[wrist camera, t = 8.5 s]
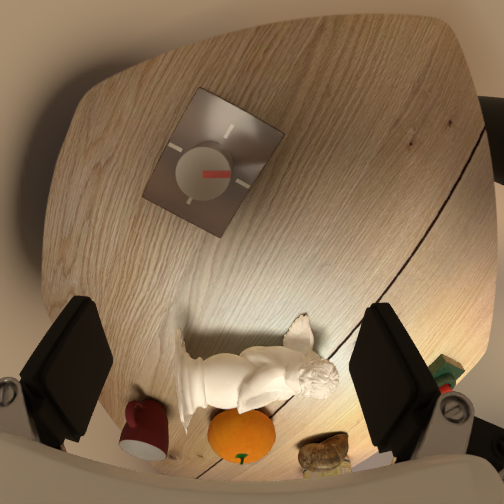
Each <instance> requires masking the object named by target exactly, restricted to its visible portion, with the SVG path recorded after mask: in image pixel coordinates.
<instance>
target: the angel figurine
mask: <svg viewBox="0 0 504 504" xmlns="http://www.w3.org/2000/svg"><path fill="white" fill-rule="evenodd" d="M180 333H181V328H180V329H179V328H177V330H176V338H175V379H176V391H177V401H178V407H179V414H180V420H181V422H182V424H183V426H184V428H185V430H186V433H187V434H188V432H187V428H186V427H187V426H188V424H189V421H190V420H191V416H192V414H194V413H195V409H196V408H197V407H202V408H207V404H209V405H211V406H213V407H216V408H221V409H232V408H236V407H237V409H238V412H239V414H241V413H244V412H246V411H250V410H252V409H257V408H260V407H263V406H266V405H267V404H269V403H271V402H273V401H276V400H279V401H282V400H288V399H289V398H290V397H291V396H292V395H297V394H298V393H300V392H301V391H302V395H303V396H310V397H311V398H320V399H325V398H327V397H329V396H330V395H331V394H332V392H334V391H336V388H337V386H338V383H339V380H338V378H339V374H338V371H337V370H336V366H334V364H333V363H332V362H329V360H325V359H323V360H321V358H320V357H319V355H318V354H316V353H315V352H314V351H312V348H313V346H314V345H313V343H314V335H313V333H312V331H311V328H310V326H309V317H308V315H305V316H303V315H300V316H299V319H298V318H297V319H296V320H295V322H293V323H292V326H291V327H289V331H287V334H285V335H284V339H283V342H284V343H283V346H270V347H262V346H254V347H250V348H247V349H245V350H244V351H242V352H241V353H240V356H238V355H235V354H230V353H221V354H216V355H213V356H211V357H209V358H207V359H206V360H204V361H203V360H202V358H201V357H198V358H197V359H192V358H191V357H190V355H189V353H186V348H185V342H184V340H183V341H182V344H181V338H180V337H181V335H180Z"/></svg>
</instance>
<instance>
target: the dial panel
mask: <svg viewBox="0 0 504 504" xmlns="http://www.w3.org/2000/svg"><path fill="white" fill-rule="evenodd" d="M284 135H285V134H284V133H282V132H281V131H279V130H277V129H276V128H274V127H272V126H271V125H269V124H267V123H266V122H264V121H262V120H260V119H259V118H257V117H255V116H254V115H252V114H250V113H248V112H246V111H245V110H243V109H241V108H239V107H237V106H236V105H234V104H232V103H230V102H228V101H226V100H224V99H222V98H221V97H219V96H217V95H215V94H213V93H211V92H209V91H207V90H205V89H203V88H201V87H199V88H198V89H197V91H196V93H195V95H194V96H193V98H192V100H191V101H190V103H189V105H188V106H187V108H186V110H185V112H184V114H183V115H182V117H181V119H180V121H179V123H178V124H177V126H176V128H175V130H174V132H173V134H172V136H171V137H170V139H169V141H168V143H167V145H166V147H165V149H164V151H163V153H162V155H161V157H160V159H159V161H158V163H157V165H156V167H155V169H154V171H153V173H152V175H151V178H150V180H149V182H148V184H147V186H146V188H145V191H144V193H143V195H142V197H143V198H145V199H147V200H149V201H150V202H152V203H154V204H156V205H158V206H160V207H162V208H164V209H166V210H167V211H169V212H171V213H173V214H175V215H177V216H179V217H181V218H183V219H185V220H186V221H188V222H190V223H192V224H194V225H196V226H198V227H200V228H202V229H203V230H205V231H207V232H209V233H211V234H213V235H215V236H217V237H219V238H221V237H222V235H223V233H224V232H225V230H226V228H227V227H228V225H229V223H230V222H231V220H232V218H233V217H234V215H235V213H236V212H237V210H238V208H239V207H240V205H241V204H242V202H243V200H244V199H245V197H246V195H247V194H248V192H249V191H250V189H251V187H252V186H253V184H254V182H255V181H256V179H257V178H258V176H259V174H260V173H261V171H262V170H263V168H264V166H265V165H266V163H267V162H268V160H269V159H270V157H271V155H272V154H273V152H274V151H275V149H276V148H277V146H278V144H279V143H280V141H281V140H282V138H283V137H284ZM203 142H216V143H219V144H221V145H222V146H224V147H225V148H226V149H227V150H228V151H229V153H230V154H231V157H232V160H233V169H232V174H231V179H230V182H229V185H228V187H227V188H226V190H225V191H224V192H223V193H222V194H221V195H220V196H218V197H216V198H214V199H211V200H207V201H200V200H195V199H193V198H190V197H189V196H187V195H186V194H185V193H184V192H183V191H182V190H181V189H180V187H179V186H178V183H177V180H176V166H177V163H178V161H179V160H180V158H181V157H182V155H183V154H184V153H186V152H187V151H188V150H190V149H192V148H193V147H195V146H196V145H198V144H200V143H203Z"/></svg>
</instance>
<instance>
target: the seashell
mask: <svg viewBox="0 0 504 504" xmlns="http://www.w3.org/2000/svg"><path fill="white" fill-rule="evenodd" d="M347 452H348V435H347V434H339V435H336V436H333V437H331V438H329V439H327V440H325V441H323V442H322V443H320V444H316V443H309V444H307V445H305V446H303V447H302V448H301V450H300V451H299V454H298V460H299V463H300V465H301V466H302V467H303V468H304V469H306V470H308V471H311V472H315V473H322V472H328V471H331V470H333V469H335V468H337V467H338V466H339V465H340V464H341V463H342V462H343V460H344V459H345V457H346V455H347Z"/></svg>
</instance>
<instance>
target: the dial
mask: <svg viewBox="0 0 504 504" xmlns="http://www.w3.org/2000/svg"><path fill="white" fill-rule="evenodd" d="M232 169H233V160H232V157H231V154H230V153H229V151H228V150H227V149H226V148H225V147H224V146H222V145H221V144H219V143H216V142H203V143H200V144H198V145H196V146H195V147H193V148H192V149H190V150H188V151H187V152H186V153H184V154H183V155H182V157H181V158H180V160H179V161H178V163H177V166H176V180H177V183H178V186H179V187H180V189H181V190H182V191H183V192H184V193H185V194H186V195H187V196H189V197H190V198H193V199H195V200H200V201H207V200H211V199H214V198H216V197H218V196H220V195H221V194H222V193H223V192H224V191H225V190H226V188H227V187H228V185H229V182H230V179H231V174H232Z"/></svg>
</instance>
